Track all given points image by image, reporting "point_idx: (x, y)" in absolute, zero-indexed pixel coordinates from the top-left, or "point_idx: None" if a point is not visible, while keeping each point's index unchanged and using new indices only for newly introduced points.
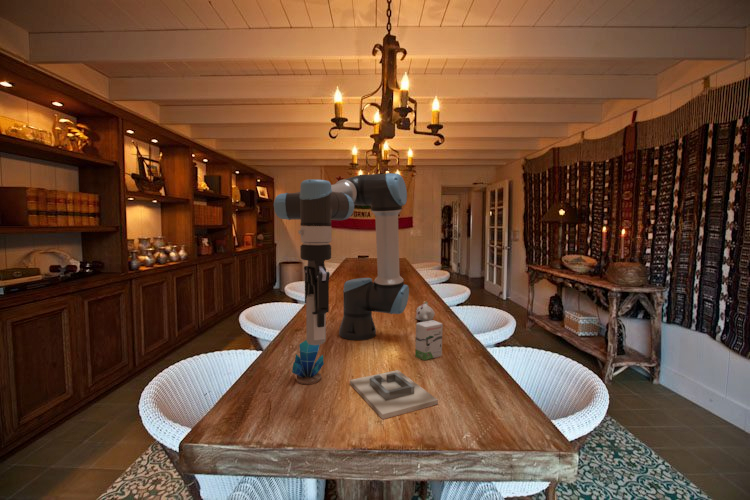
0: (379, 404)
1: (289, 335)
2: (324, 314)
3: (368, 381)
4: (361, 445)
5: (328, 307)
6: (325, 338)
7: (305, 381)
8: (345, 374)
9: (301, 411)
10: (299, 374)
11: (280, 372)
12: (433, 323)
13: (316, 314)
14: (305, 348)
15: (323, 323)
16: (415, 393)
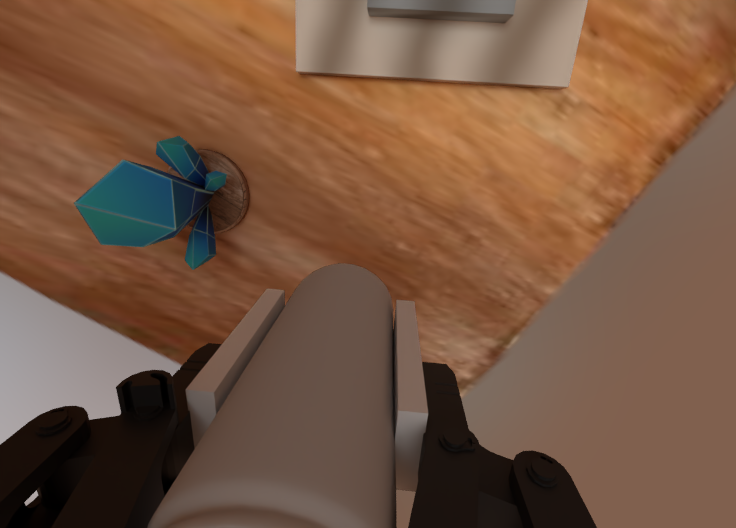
0: (512, 61)
1: None
2: (424, 408)
3: (339, 4)
4: (618, 206)
5: (583, 508)
6: (370, 276)
7: (239, 216)
8: (217, 50)
9: (390, 275)
10: (213, 233)
11: (130, 254)
12: None
13: (416, 472)
14: (145, 230)
15: (455, 387)
16: None
